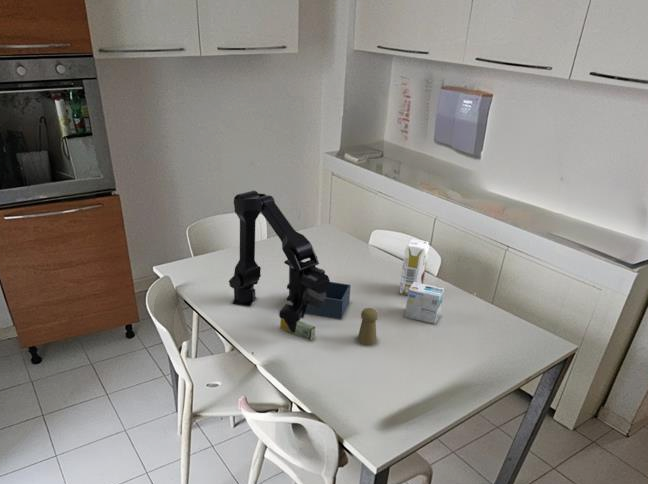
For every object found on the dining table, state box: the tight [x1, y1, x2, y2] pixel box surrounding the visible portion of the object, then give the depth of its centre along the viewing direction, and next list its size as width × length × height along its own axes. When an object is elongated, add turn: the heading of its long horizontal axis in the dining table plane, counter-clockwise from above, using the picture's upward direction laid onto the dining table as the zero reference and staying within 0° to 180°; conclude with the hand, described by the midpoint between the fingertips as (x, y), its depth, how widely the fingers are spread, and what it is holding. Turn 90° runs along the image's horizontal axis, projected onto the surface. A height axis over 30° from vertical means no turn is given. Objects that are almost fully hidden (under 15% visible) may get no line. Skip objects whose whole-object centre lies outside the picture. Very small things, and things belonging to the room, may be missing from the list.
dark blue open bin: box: [305, 281, 352, 320], centre depth 181 cm, size 17×12×7 cm
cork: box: [357, 307, 379, 347], centre depth 162 cm, size 6×6×11 cm
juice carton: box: [399, 238, 430, 296], centre depth 189 cm, size 8×9×19 cm
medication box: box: [279, 318, 316, 341], centre depth 167 cm, size 12×3×4 cm, turn 57°
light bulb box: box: [404, 282, 445, 325], centre depth 176 cm, size 11×7×11 cm, turn 65°
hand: (297, 324), depth 166 cm, fingers open, 9 cm apart
